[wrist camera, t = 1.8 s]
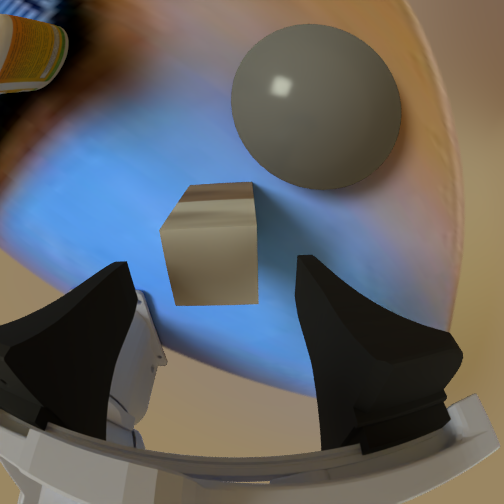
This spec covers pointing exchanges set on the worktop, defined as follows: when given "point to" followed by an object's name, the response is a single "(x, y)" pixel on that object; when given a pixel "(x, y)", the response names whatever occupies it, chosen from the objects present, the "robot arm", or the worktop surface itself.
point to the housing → (212, 246)
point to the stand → (316, 106)
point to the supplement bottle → (29, 53)
